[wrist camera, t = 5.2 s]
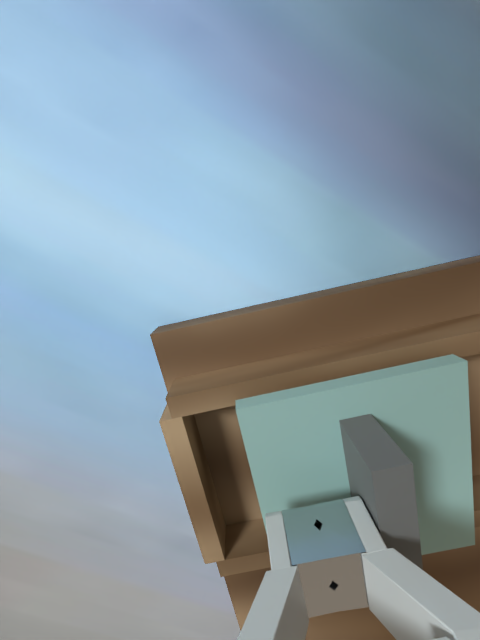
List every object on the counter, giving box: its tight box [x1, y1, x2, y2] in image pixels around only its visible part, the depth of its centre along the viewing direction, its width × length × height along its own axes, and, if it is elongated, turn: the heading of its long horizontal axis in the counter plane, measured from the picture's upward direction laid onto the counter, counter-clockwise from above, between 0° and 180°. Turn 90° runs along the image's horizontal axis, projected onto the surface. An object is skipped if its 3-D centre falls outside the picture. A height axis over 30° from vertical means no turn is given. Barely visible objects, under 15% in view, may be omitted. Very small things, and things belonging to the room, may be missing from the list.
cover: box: [235, 354, 475, 570], centre depth 9 cm, size 7×7×3 cm
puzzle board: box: [150, 255, 480, 640], centre depth 13 cm, size 27×17×3 cm, turn 12°
